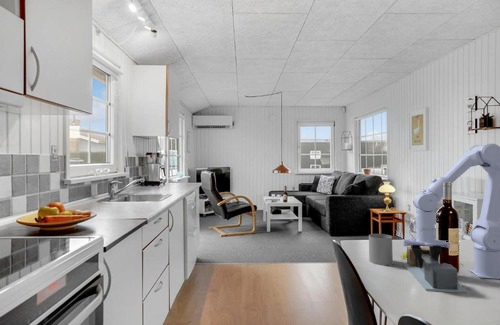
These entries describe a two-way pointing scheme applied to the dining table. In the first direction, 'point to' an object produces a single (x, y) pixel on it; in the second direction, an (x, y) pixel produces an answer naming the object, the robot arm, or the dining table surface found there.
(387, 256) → the cup
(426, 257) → the bar
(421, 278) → the board
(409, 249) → the socket
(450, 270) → the sleeve
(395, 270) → the dining table surface
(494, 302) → the dining table surface
